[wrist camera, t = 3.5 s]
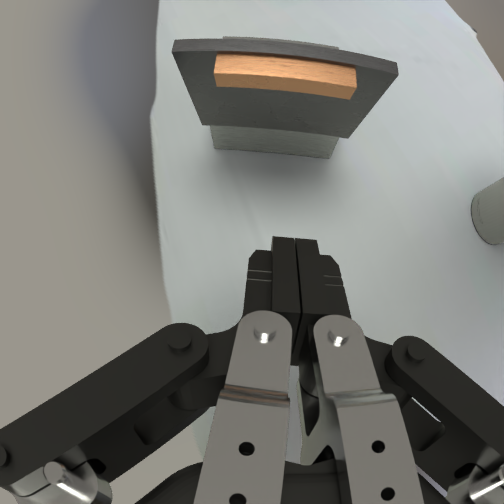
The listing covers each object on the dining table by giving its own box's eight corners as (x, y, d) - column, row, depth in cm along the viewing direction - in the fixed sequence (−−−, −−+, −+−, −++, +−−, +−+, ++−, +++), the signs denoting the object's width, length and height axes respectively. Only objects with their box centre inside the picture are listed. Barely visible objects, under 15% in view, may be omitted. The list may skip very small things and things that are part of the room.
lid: (396, 62, 19) (400, 94, 19) (348, 129, 34) (348, 153, 34) (174, 39, 19) (166, 71, 19) (203, 115, 34) (200, 139, 34)
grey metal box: (326, 84, 45) (338, 47, 36) (329, 158, 43) (345, 125, 34) (226, 75, 45) (223, 36, 36) (214, 148, 43) (206, 112, 34)
